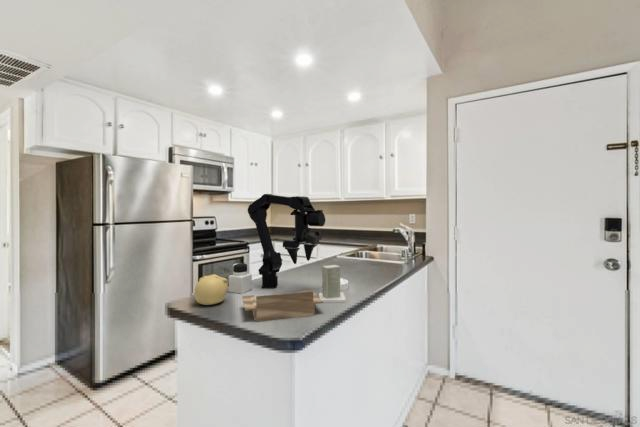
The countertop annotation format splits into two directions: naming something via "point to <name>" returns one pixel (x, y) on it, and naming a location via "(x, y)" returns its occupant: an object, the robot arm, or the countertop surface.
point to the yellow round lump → (211, 289)
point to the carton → (281, 305)
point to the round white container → (342, 284)
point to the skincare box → (331, 281)
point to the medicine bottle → (240, 279)
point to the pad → (333, 299)
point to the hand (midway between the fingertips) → (301, 262)
